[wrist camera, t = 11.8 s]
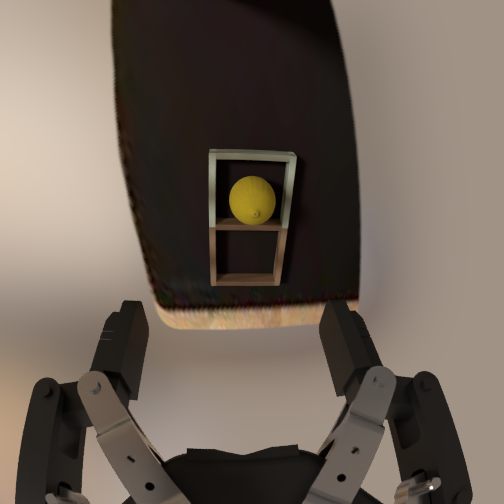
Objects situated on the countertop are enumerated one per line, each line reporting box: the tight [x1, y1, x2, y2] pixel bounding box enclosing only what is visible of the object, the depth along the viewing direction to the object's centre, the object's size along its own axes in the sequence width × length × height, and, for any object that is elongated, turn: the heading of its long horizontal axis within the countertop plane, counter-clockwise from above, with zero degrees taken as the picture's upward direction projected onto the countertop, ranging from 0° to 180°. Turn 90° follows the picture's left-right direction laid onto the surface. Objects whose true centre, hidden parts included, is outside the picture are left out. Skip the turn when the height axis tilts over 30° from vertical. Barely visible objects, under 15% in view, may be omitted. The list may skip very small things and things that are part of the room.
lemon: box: [229, 176, 276, 225], centre depth 34 cm, size 6×6×8 cm
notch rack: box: [209, 149, 297, 286], centre depth 39 cm, size 20×11×2 cm, turn 177°
